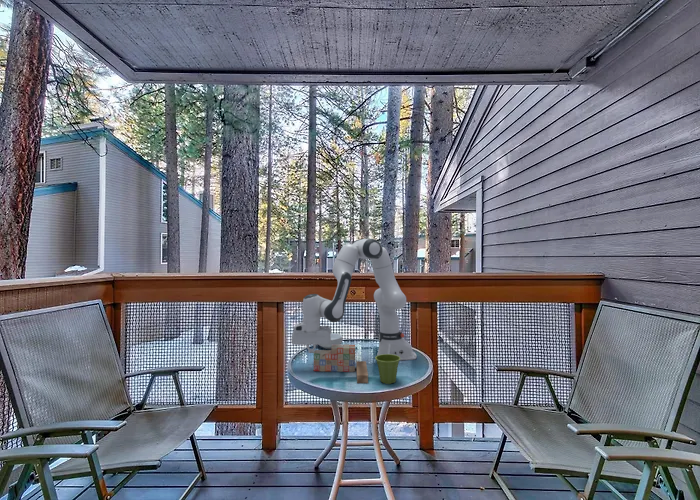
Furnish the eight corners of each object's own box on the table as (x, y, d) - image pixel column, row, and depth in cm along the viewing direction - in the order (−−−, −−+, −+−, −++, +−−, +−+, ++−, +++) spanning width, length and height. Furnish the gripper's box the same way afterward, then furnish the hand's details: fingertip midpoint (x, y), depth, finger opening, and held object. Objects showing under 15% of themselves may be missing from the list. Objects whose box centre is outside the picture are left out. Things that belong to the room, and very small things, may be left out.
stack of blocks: (313, 371, 180) (313, 347, 180) (314, 367, 187) (314, 344, 187) (355, 371, 180) (355, 347, 180) (355, 367, 186) (355, 344, 186)
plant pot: (396, 376, 175) (396, 353, 174) (403, 385, 163) (403, 361, 163) (372, 377, 173) (372, 354, 173) (378, 387, 161) (378, 362, 161)
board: (365, 368, 186) (365, 361, 186) (367, 383, 166) (367, 375, 166) (356, 368, 186) (356, 361, 186) (357, 383, 166) (357, 375, 166)
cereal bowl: (344, 350, 217) (344, 338, 217) (317, 351, 214) (317, 340, 214) (339, 342, 234) (339, 331, 234) (314, 344, 231) (314, 333, 230)
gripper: (331, 324, 186) (331, 350, 186) (292, 324, 186) (292, 350, 186) (331, 327, 179) (331, 354, 180) (290, 327, 179) (290, 354, 180)
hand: (311, 352), depth 183 cm, fingers closed
